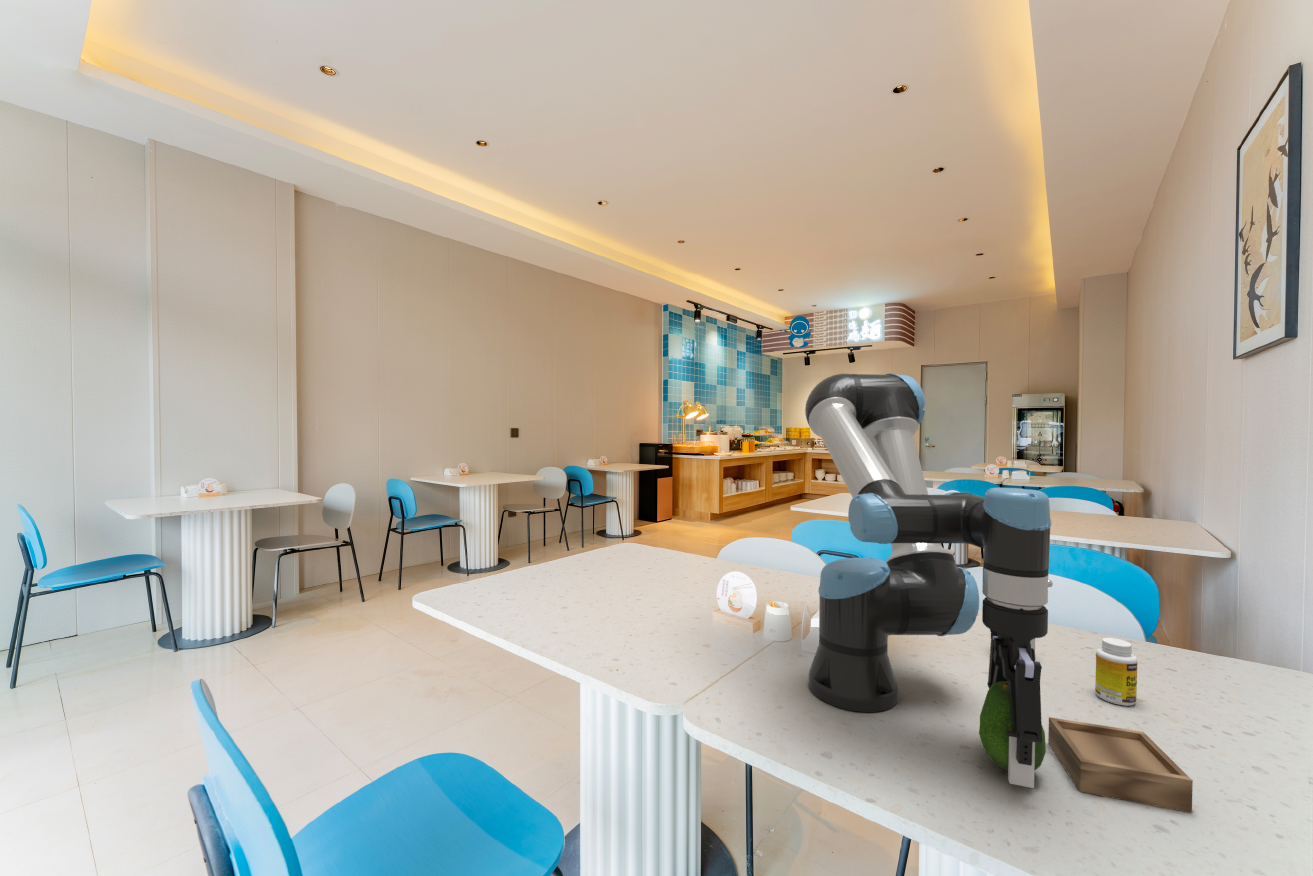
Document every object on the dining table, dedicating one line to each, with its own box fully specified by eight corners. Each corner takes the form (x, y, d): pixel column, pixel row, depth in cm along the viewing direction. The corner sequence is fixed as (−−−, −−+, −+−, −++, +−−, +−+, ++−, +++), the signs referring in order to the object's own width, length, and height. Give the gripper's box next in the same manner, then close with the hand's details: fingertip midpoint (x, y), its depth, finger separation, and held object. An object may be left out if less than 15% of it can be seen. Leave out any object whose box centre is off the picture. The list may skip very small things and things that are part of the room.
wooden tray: (1080, 791, 70) (1080, 761, 70) (1048, 743, 81) (1048, 717, 81) (1191, 812, 67) (1192, 780, 66) (1142, 759, 77) (1143, 731, 77)
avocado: (973, 747, 80) (975, 667, 79) (1037, 760, 77) (1038, 677, 76) (983, 780, 72) (985, 691, 72) (1053, 795, 69) (1055, 703, 69)
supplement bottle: (1130, 710, 91) (1131, 650, 91) (1090, 697, 96) (1091, 639, 96) (1141, 701, 94) (1142, 643, 94) (1102, 688, 99) (1102, 633, 99)
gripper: (1078, 631, 63) (1074, 823, 63) (1022, 583, 83) (1019, 730, 83) (1004, 623, 65) (1000, 808, 66) (967, 578, 85) (964, 721, 86)
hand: (1011, 764), depth 74 cm, fingers closed on avocado, 8 cm apart
